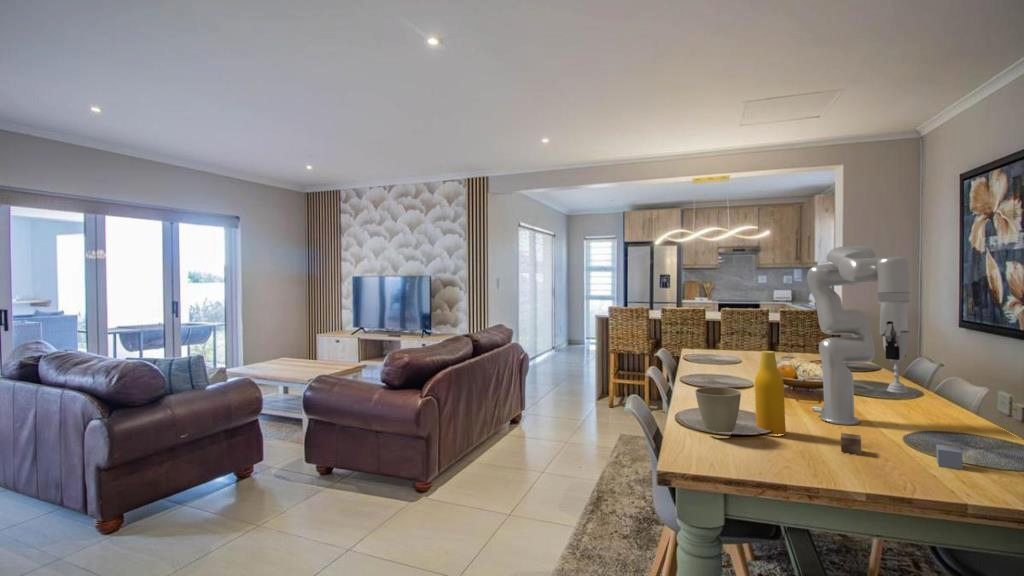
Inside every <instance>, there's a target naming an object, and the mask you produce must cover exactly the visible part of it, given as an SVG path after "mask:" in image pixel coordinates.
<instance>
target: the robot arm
mask: <svg viewBox="0 0 1024 576" xmlns="http://www.w3.org/2000/svg"><path fill="white" fill-rule="evenodd" d="M826 262H827V264H825V263H824V264H823V263H822V264H818V265H814V266H812V267H810V268H809V270H808V271H807V276H806V277H807V278H806V281H807V285H808V288H809V291H810V294H812V297H813V300H814V302H815V307H816V313H817V319H818V325H819V328H820V331H821V332H822V333H823V334H826V335H833V336H834V335H852V337H843V336H842V337H841V336H839V337H838V336H837V337H828V338H825V339H822V340H821V341H819V344H818V352H819V356H820V362H821V366H822V367H821V368H822V379H823V380H822V382H823V383H822V385H823V406H816V405H813V406H812V411H813V412H814V413H820V415H819V419H820V418H821V419H822V420H824V421H823V422H825V421H827V422H826V423H828V422H830V424H833V423H834V425H842V426H851V425H852V426H855V425H858V424H860V422H861V420H860V418H858V417H857V416H855V395H854V375H853V373H852V371H851V370H850V369H849V367H847V365H846V364H847V363H848V364H850V363H852V364H853V363H854V364H859V363H864V364H865V363H870V362H872V361H874V359H875V355H876V353H875V352H876V351H875V344H874V339H873V334H872V330H871V324H870V320H869V318H868V316H867V314H866V313H865V312H864V311H863V310H861V309H845V308H844V307H843V302H842V299H841V297H840V295H839V294H838V293H837V292H836V291H835V290H834V289H833V288H831V287H832V286H833V287H834V286H835V287H836V286H837V287H839V286H855V285H858V284H860V283H874V282H876V283H877V296H878V297H877V299H878V300H877V301H878V302H877V303H878V304H880V307H879V308H880V310H879V335H880V336H882V337H883V336H885V337H886V339H885V340H886V342H885V345H886V346H885V349H886V352H885V359H887V360H890V359H892V360H899V359H900V353H899V346H898V337H899V336H901V333H903V332H906V331H908V325H909V324H908V322H909V321H908V307H907V304H911V292H910V291H911V286H910V282H911V281H910V262H909V259H908V258H907V257H905V256H895V257H876V252H875V251H874V249H873V248H871V247H870V246H868V245H853V246H848V245H847V246H839V247H835V248H832V249H831V250H829V252H828V253H827V255H826ZM885 332H886V333H885ZM892 332H896V335H892ZM884 334H885V335H884ZM894 338H895V341H894ZM885 349H884V350H885ZM906 357H907V354H906V355H905V357H904V358H906ZM821 419H820V420H821ZM822 420H821V421H822Z"/></svg>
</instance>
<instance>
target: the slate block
mask: <svg viewBox="0 0 1024 576" xmlns="http://www.w3.org/2000/svg"><path fill="white" fill-rule="evenodd" d="M935 447H936V463H937V466H938V467H939V468H944V469H945V468H946V469H952V470H960V471H964V469H963V468H964V467H963V466H964V465H963V451H962V449H961V448H960V446H954V445H953V446H952V445H951V446H950V445H944V444H936V445H935Z"/></svg>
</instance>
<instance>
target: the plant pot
mask: <svg viewBox="0 0 1024 576" xmlns="http://www.w3.org/2000/svg"><path fill="white" fill-rule="evenodd" d="M694 392H695V397H696V401H697V406H698V409H699V413H700V416H701V420H702V422H703V424H704V428H705V430H706V429H708V430H711V431H715V432H732V431H733V432H734V429H736V428H735V427H736V423H737V420H738V416H739V411H740V403H741V397H742V391H740V390H739V389H735V388H732V387H731V388H730V387H724V386H723V387H722V386H721V387H720V386H708V387H707V386H706V387H699V388H696V389H695V391H694Z"/></svg>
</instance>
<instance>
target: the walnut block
mask: <svg viewBox="0 0 1024 576" xmlns="http://www.w3.org/2000/svg"><path fill="white" fill-rule="evenodd" d="M840 448H841V451H840V452H843V453H842V454H846V453H849V454H848V455H853V454H856V455H855V456H860V455H861V456H862V437H861V435H860V434H854V433H845V432H841V433H840Z"/></svg>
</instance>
